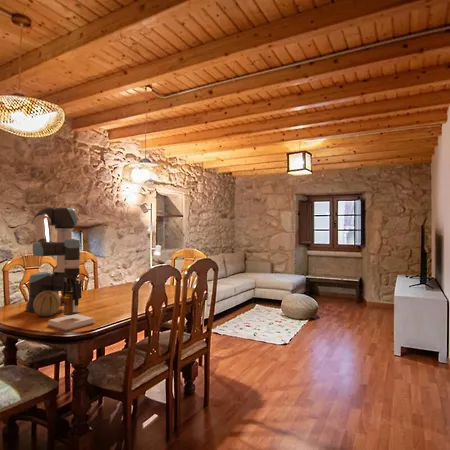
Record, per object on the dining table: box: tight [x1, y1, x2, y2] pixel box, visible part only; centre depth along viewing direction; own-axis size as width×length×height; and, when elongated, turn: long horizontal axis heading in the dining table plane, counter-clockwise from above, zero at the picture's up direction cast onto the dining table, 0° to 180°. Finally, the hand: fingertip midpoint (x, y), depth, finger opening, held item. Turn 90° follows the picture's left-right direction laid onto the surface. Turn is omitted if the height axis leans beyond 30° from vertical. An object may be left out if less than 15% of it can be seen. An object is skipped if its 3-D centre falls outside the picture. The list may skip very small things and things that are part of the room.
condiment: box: [61, 291, 83, 316], centre depth 186 cm, size 7×8×12 cm
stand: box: [47, 313, 95, 332], centre depth 186 cm, size 17×17×3 cm
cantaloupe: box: [33, 291, 62, 317], centre depth 205 cm, size 15×15×15 cm
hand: (71, 310), depth 186 cm, fingers closed on condiment, 6 cm apart
